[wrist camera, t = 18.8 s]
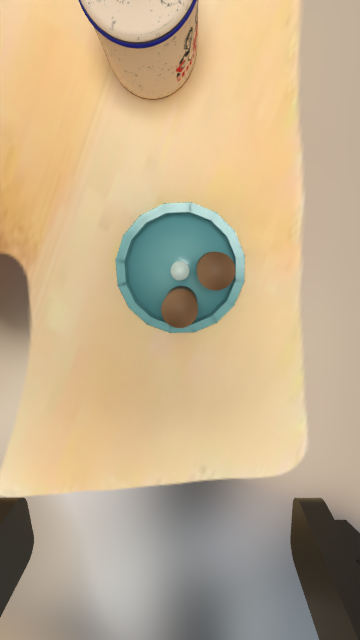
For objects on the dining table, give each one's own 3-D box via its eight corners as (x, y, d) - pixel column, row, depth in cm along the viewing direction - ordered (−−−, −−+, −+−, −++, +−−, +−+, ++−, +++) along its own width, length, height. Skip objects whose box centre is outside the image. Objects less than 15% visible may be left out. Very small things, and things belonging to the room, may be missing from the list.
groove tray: (97, 272, 34) (90, 273, 31) (177, 177, 31) (176, 172, 29) (183, 349, 36) (182, 356, 33) (266, 266, 33) (271, 268, 31)
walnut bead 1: (159, 302, 34) (153, 311, 29) (180, 279, 33) (178, 284, 28) (182, 322, 34) (180, 335, 29) (203, 300, 33) (205, 309, 28)
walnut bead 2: (196, 285, 33) (197, 291, 28) (195, 252, 32) (196, 252, 27) (229, 283, 33) (235, 289, 28) (228, 250, 32) (235, 251, 27)
